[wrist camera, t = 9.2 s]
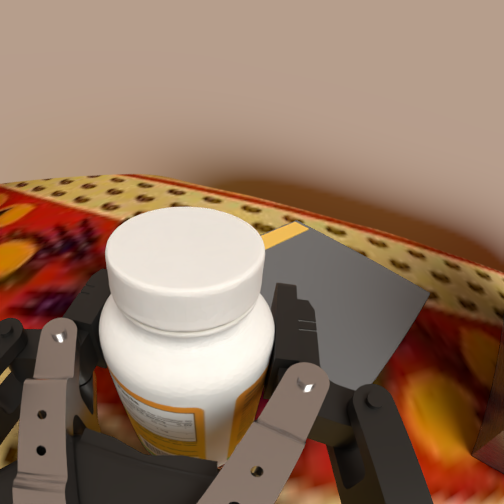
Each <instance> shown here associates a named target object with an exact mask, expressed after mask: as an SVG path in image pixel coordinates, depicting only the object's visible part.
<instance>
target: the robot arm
mask: <svg viewBox="0 0 504 504" xmlns="http://www.w3.org/2000/svg"><path fill="white" fill-rule="evenodd" d="M110 294H111V291H110V287H109V279H108V271H107V270H106V269H101V270H100V271H98V272H97V273H95V274H94V275H92V277H91V278H90V279H89V281H88V282H87V283H86V286H84V287H83V289H82V290H81V293H79V294H78V296H77V297H76V299H75V300H74V301H73V303H72V304H71V306H70V307H69V309H68V310H67V311H66V313H65V314H64V316H63V317H62V318H57V319H54V320H51V321H50V322H48V323H47V324H46V325H45V326H44V327H43V329H24V328H23V326H22V324H21V322H20V321H19V320H18V319H15V318H7V319H4V320H2V321H0V375H1V374H2V373H3V372H4V370H5V369H6V368H7V367H9V369H10V370H11V373H10V374H9V375H8V376H7V377H6V379H5V380H4V381H3V382H2V383H1V385H0V445H1V443H2V442H3V440H4V439H5V438H6V436H7V435H8V433H9V432H10V431H11V429H12V428H13V426H14V425H15V424H16V422H17V421H18V420H19V418H20V421H19V436H18V460H17V461H15V462H13V463H11V464H9V465H7V466H5V467H3V468H2V469H0V504H274V503H275V501H276V500H277V498H278V496H279V494H280V492H281V491H282V489H283V487H284V485H285V483H286V482H287V480H288V478H289V476H290V474H291V472H292V470H293V468H294V466H295V464H296V462H297V460H298V458H299V456H300V454H301V452H302V450H303V448H304V446H305V443H306V442H305V441H306V438H309V439H312V440H315V441H318V442H321V443H324V444H326V446H327V450H328V454H329V457H330V461H331V465H332V469H333V473H334V477H335V480H336V484H337V488H338V492H339V496H340V500H341V504H433V501H432V498H431V495H430V492H429V490H428V487H427V484H426V481H425V478H424V476H423V473H422V470H421V467H420V465H419V462H418V459H417V457H416V454H415V452H414V449H413V446H412V444H411V441H410V439H409V436H408V434H407V431H406V429H405V426H404V424H403V421H402V419H401V417H400V414H399V412H398V409H397V407H396V405H395V402H394V400H393V398H392V396H391V394H390V393H389V392H388V391H387V390H386V389H385V388H383V387H381V386H379V385H376V384H365V385H362V386H360V387H359V388H358V389H357V390H356V391H355V390H352V389H349V388H346V387H343V386H340V385H338V384H335V383H333V382H332V381H330V380H329V378H328V375H327V374H326V372H325V371H324V370H323V369H322V368H321V367H320V358H319V347H318V337H317V327H316V317H315V310H314V308H313V307H312V305H311V304H310V302H309V301H308V300H302V299H297V286H296V285H292V284H285V283H276V287H275V291H274V296H273V301H272V306H271V313H272V316H273V320H274V325H275V339H274V345H273V350H272V355H271V359H270V363H269V367H268V371H267V375H266V378H265V383H264V397H263V399H270V400H269V401H268V403H267V405H266V406H265V408H264V410H263V411H262V413H261V415H260V416H259V418H258V419H257V420H255V421H254V422H253V423H252V424H251V426H250V427H249V429H248V430H247V432H246V433H245V435H244V437H243V438H242V440H241V441H240V443H239V444H238V446H237V447H236V449H235V450H234V452H233V453H232V455H231V456H230V458H229V459H228V461H227V462H226V463H225V465H224V466H223V468H222V469H221V470H220V469H218V468H217V464H218V461H212V460H206V459H200V458H194V457H189V456H184V455H145V454H143V453H141V452H139V451H137V450H135V449H133V448H132V447H130V446H128V445H126V444H125V443H123V442H121V441H119V440H118V439H116V438H114V437H111V436H108V435H105V434H102V433H101V429H100V426H99V423H98V416H97V391H96V375H95V372H94V369H95V367H96V366H99V367H103V368H107V363H106V361H105V359H104V355H103V351H102V348H101V344H100V338H99V322H100V316H101V313H102V310H103V307H104V305H105V303H106V301H107V299H108V297H109V296H110Z"/></svg>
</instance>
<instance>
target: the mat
mask: <svg viewBox="0 0 504 504" xmlns="http://www.w3.org/2000/svg"><path fill="white" fill-rule="evenodd" d="M260 236H261V238H262V240H263V243H264V246H265V260H264V267H263V275H262V285H261V290H260V294H261V295H262V296H263V298H264V299H265V301H266V302H267V304H268V306H269V308H270V310H271V306H272V301H273V296H274V291H275V287H276V283H285V284H292V285H296V286H297V299H302V300H308V301H309V302H310V304H311V305H312V307H313V308H314V310H315V317H316V327H317V337H318V347H319V358H320V367H321V368H322V369H323V370H324V371H325V372H326V374H327V375H328V378H329V380H330V381H332V382H333V383H335V384H338V385H340V386H343V387H346V388H349V389H352V390H355V391H356V390H357V389H358V388H359V387H360V386H362V385H365V384H372V383H373V381H374V380H375V379H376V377H377V376H378V375H379V373H380V372H381V370H382V369H383V368H384V366H385V365H386V363H387V362H388V361H389V359H390V358H391V356H392V355H393V353H394V352H395V350H396V349H397V347H398V346H399V344H400V343H401V341H402V340H403V338H404V337H405V335H406V334H407V332H408V330H409V329H410V327H411V326H412V324H413V322H414V321H415V319H416V317H417V316H418V314H419V313H420V311H421V309H422V307H423V306H424V304H425V302H426V300H427V298H428V297H429V295H430V293H429V292H427V291H426V290H424V289H422V288H420V287H419V286H417V285H415V284H414V283H412V282H410V281H408V280H407V279H405V278H403V277H401V276H399V275H398V274H396V273H394V272H392V271H391V270H389V269H387V268H385V267H383V266H382V265H380V264H378V263H376V262H374V261H373V260H371V259H369V258H367V257H365V256H363V255H362V254H360V253H358V252H356V251H354V250H352V249H350V248H349V247H347V246H345V245H343V244H341V243H339V242H337V241H335V240H334V239H332V238H330V237H328V236H326V235H324V234H322V233H320V232H318V231H316V230H314V229H312V228H311V227H309V226H307V225H305V224H303V223H301V222H299V221H297V220H296V221H294V222H291V223H289V224H286V225H284V226H281V227H279V228H277V229H274V230H272V231H269V232H267V233H265V234H262V235H260Z"/></svg>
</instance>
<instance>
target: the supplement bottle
mask: <svg viewBox="0 0 504 504" xmlns="http://www.w3.org/2000/svg"><path fill="white" fill-rule="evenodd" d="M105 257H106V265H107V271H108V279H109V287H110V291H111V294H110V296H109V297H108V299H107V301H106V303H105V305H104V307H103V310H102V313H101V316H100V322H99V338H100V344H101V348H102V351H103V355H104V359H105V361H106V363H107V366H108V369H109V371H110V374H111V377H112V379H113V382H114V384H115V387H116V389H117V392H118V394H119V396H120V399H121V401H122V403H123V406H124V408H125V410H126V413H127V415H128V417H129V419H130V421H131V423H132V426H133V428H134V430H135V432H136V434H137V436H138V438H139V440H140V441H141V443H142V444H143V446H144V447H145V448H146V449H147V450H148V452H149V453H150V454H151V455H184V456H189V457H194V458H200V459H206V460H212V461H218V464H217V467H219V466H221V465H224V464H225V463H226V462H227V461H228V459H229V458H230V456H231V455H232V453H233V452H234V450H235V449H236V447H237V446H238V444H239V443H240V441H241V440H242V438H243V437H244V435H245V433H246V432H247V430H248V429H249V427H250V426H251V424H252V423H253V422H254V419H255V415H256V411H257V407H258V404H259V400H260V397H261V393H262V390H263V386H264V382H265V378H266V375H267V371H268V367H269V363H270V359H271V355H272V350H273V345H274V339H275V325H274V320H273V316H272V313H271V310H270V308H269V306H268V304H267V302H266V301H265V299H264V298H263V296H262V295H261V294H260V290H261V285H262V275H263V267H264V260H265V246H264V243H263V240H262V238H261V236H260V235H259V233H258V232H257V231H256V230H255V229H254V228H253V227H252V226H251V225H250V224H248V223H247V222H245V221H243V220H242V219H240V218H238V217H235V216H233V215H231V214H228V213H225V212H221V211H217V210H214V209H208V208H199V207H170V208H162V209H158V210H153V211H149V212H146V213H143V214H140V215H138V216H135V217H133V218H131V219H129V220H127V221H126V222H124V223H123V224H121V225H120V226H119V227H117V229H116V230H115V231H114V232H113V233H112V234H111V236H110V238H109V239H108V242H107V245H106V251H105Z"/></svg>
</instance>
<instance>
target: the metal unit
mask: <svg viewBox="0 0 504 504" xmlns="http://www.w3.org/2000/svg"><path fill="white" fill-rule="evenodd" d="M472 456H473V457H475V458H477V459H479V460H480V461H482V462H484V463H486V464H487V465H489V466H491V467H493V468H494V469H496V470H498V471H500V472H501V473H503V474H504V316H503V325H502V333H501V341H500V347H499V354H498V359H497V365H496V370H495V375H494V380H493V384H492V389H491V393H490V397H489V401H488V405H487V409H486V412H485V416H484V419H483V423H482V426H481V429H480V432H479V435H478V438H477V441H476V444H475V447H474V450H473V453H472Z"/></svg>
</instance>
